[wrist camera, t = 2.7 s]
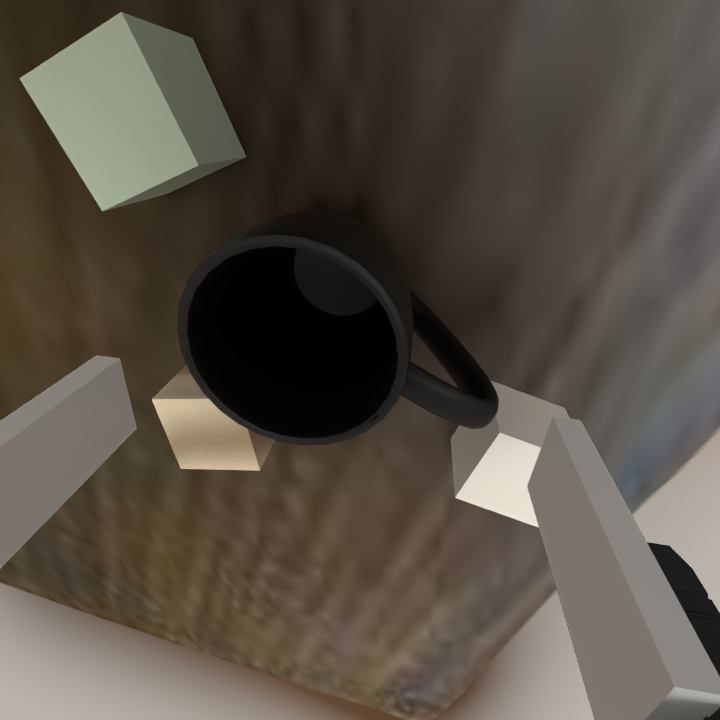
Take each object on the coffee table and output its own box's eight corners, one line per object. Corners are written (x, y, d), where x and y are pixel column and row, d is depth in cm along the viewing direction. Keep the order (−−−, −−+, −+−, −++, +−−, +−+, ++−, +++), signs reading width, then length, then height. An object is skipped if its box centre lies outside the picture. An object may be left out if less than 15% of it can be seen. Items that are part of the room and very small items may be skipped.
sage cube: (108, 88, 20) (19, 78, 15) (193, 38, 18) (121, 12, 14) (166, 194, 22) (102, 211, 17) (247, 156, 20) (198, 165, 16)
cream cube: (486, 378, 24) (499, 432, 20) (564, 407, 25) (593, 466, 20) (450, 438, 27) (455, 497, 23) (521, 463, 27) (538, 527, 23)
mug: (434, 385, 25) (438, 512, 17) (250, 303, 24) (158, 394, 16) (512, 265, 21) (567, 355, 13) (293, 159, 20) (200, 184, 12)
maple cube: (196, 354, 27) (151, 399, 22) (270, 352, 26) (238, 398, 21) (217, 417, 29) (180, 468, 25) (285, 417, 28) (260, 470, 24)
